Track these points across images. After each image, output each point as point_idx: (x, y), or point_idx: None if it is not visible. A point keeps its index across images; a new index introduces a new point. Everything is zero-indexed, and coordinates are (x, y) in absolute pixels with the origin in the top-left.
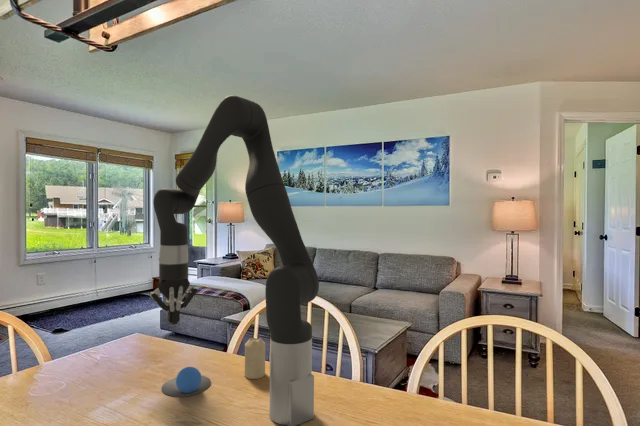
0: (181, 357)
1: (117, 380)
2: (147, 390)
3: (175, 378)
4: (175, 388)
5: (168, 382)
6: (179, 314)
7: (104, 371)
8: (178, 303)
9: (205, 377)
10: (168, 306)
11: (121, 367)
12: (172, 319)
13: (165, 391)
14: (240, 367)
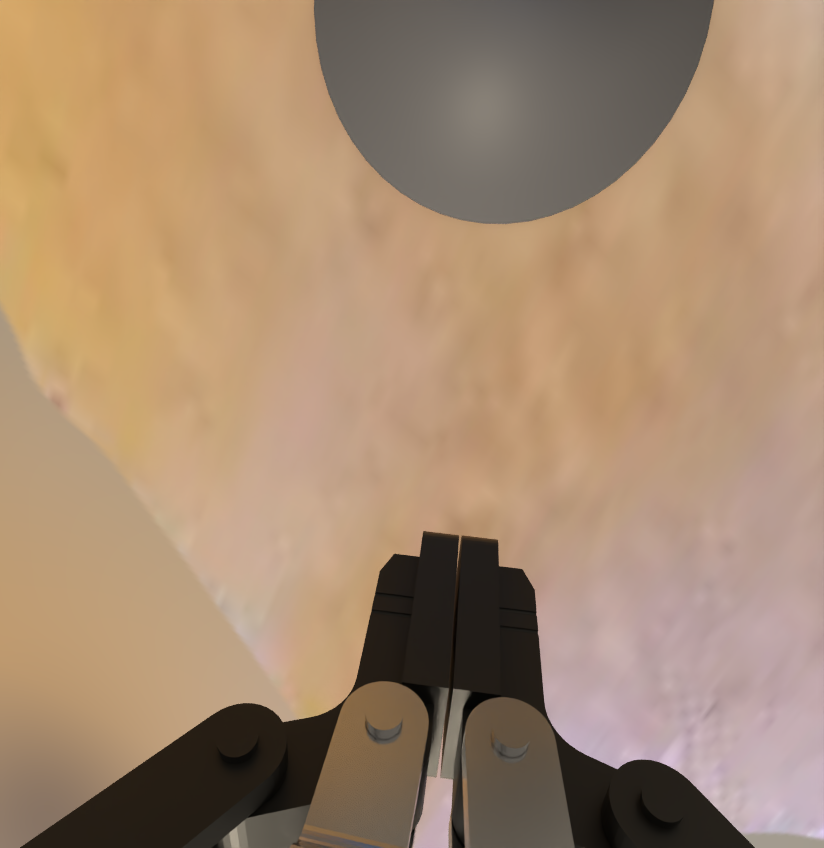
0: (331, 507)
1: (784, 450)
2: (757, 160)
3: (514, 209)
4: (606, 16)
5: (586, 175)
6: (370, 632)
7: (754, 602)
8: (363, 827)
9: (329, 56)
10: (573, 832)
11: (661, 593)
12: (495, 590)
13: (693, 15)
14: (21, 61)
